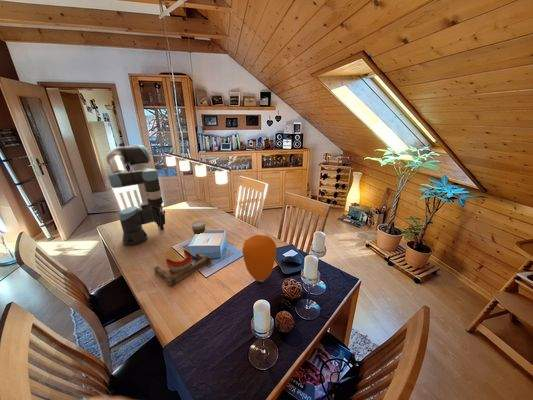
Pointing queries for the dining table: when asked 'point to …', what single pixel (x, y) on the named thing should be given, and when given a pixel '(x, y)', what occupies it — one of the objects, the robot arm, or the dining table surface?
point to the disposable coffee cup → (198, 227)
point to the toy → (180, 263)
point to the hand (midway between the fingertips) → (162, 234)
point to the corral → (185, 273)
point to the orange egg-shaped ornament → (259, 256)
